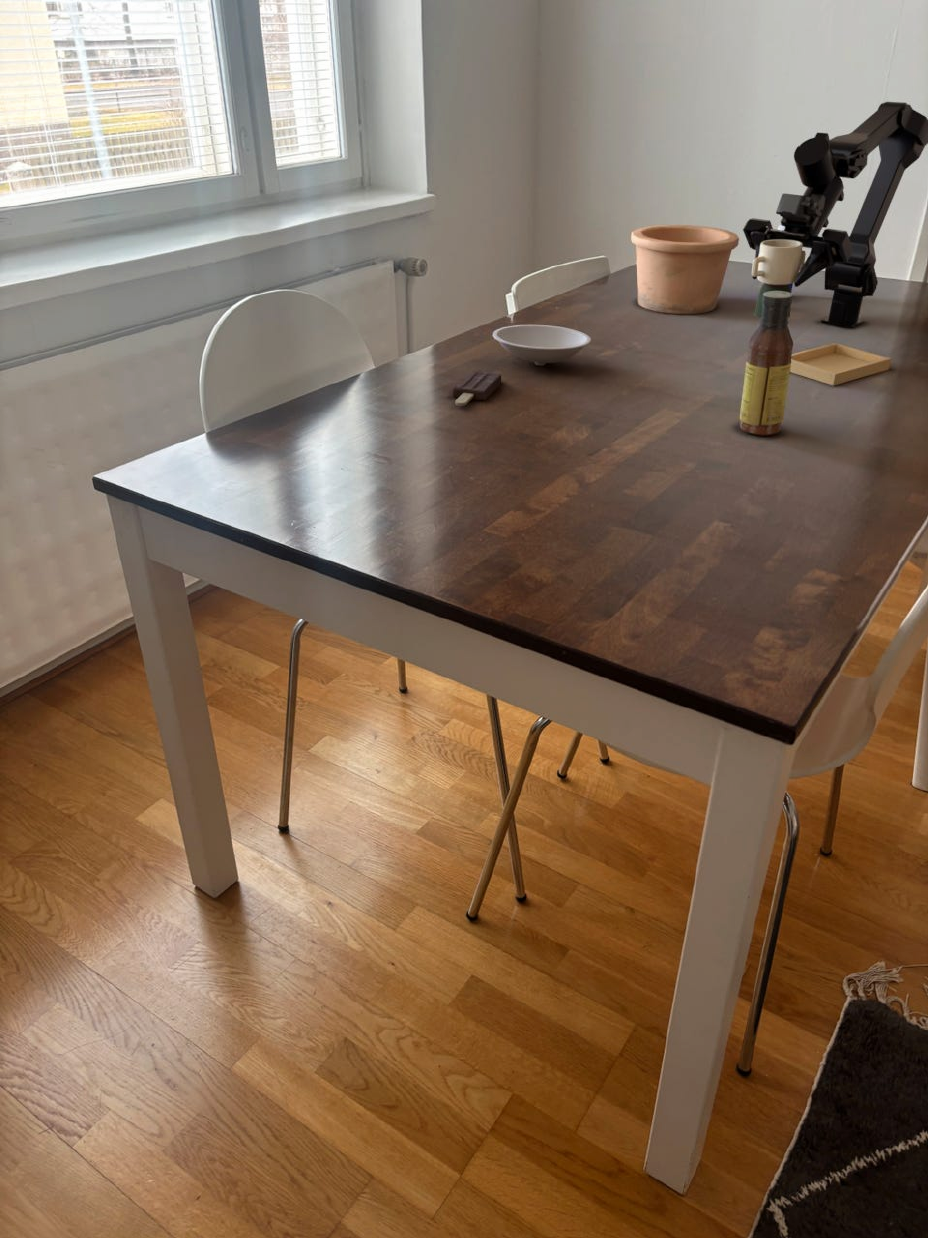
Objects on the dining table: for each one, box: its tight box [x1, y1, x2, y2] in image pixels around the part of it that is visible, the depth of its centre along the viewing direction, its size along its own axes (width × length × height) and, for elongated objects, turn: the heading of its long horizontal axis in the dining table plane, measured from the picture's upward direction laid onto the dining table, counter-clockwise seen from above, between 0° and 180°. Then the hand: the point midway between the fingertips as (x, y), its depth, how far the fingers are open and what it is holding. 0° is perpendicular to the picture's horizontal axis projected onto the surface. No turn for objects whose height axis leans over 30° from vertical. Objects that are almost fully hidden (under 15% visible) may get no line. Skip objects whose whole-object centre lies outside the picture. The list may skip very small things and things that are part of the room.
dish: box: [492, 324, 592, 366], centre depth 168 cm, size 18×14×5 cm
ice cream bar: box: [452, 369, 502, 407], centre depth 155 cm, size 5×2×15 cm
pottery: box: [630, 224, 740, 315], centre depth 202 cm, size 22×22×14 cm
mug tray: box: [790, 342, 892, 387], centre depth 168 cm, size 12×16×2 cm
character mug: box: [751, 239, 807, 318], centre depth 169 cm, size 11×7×13 cm, turn 112°
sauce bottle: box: [739, 291, 794, 436], centre depth 138 cm, size 6×6×20 cm
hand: (774, 281), depth 168 cm, fingers closed on character mug, 8 cm apart
